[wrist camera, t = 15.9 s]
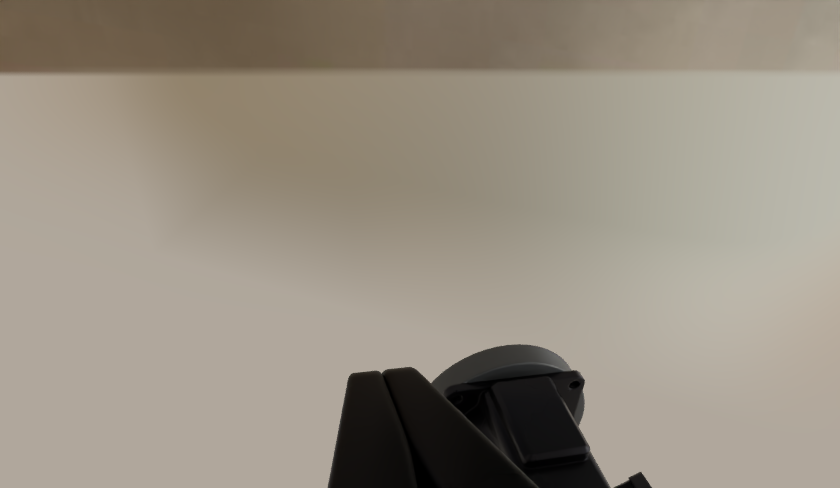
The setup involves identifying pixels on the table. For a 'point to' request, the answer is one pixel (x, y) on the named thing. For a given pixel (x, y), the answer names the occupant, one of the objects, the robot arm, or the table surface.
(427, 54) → the table surface
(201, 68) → the table surface
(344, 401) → the robot arm
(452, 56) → the table surface
